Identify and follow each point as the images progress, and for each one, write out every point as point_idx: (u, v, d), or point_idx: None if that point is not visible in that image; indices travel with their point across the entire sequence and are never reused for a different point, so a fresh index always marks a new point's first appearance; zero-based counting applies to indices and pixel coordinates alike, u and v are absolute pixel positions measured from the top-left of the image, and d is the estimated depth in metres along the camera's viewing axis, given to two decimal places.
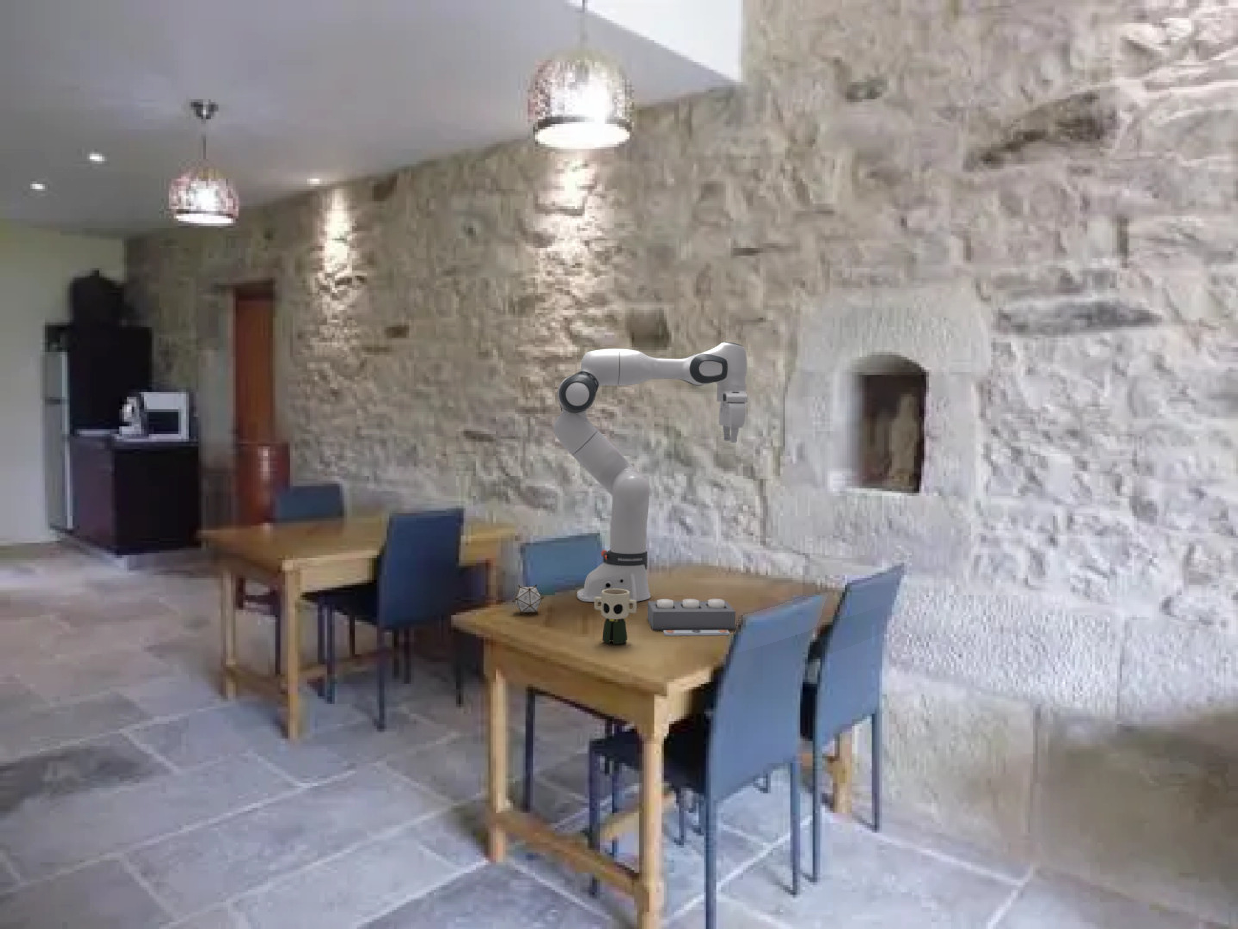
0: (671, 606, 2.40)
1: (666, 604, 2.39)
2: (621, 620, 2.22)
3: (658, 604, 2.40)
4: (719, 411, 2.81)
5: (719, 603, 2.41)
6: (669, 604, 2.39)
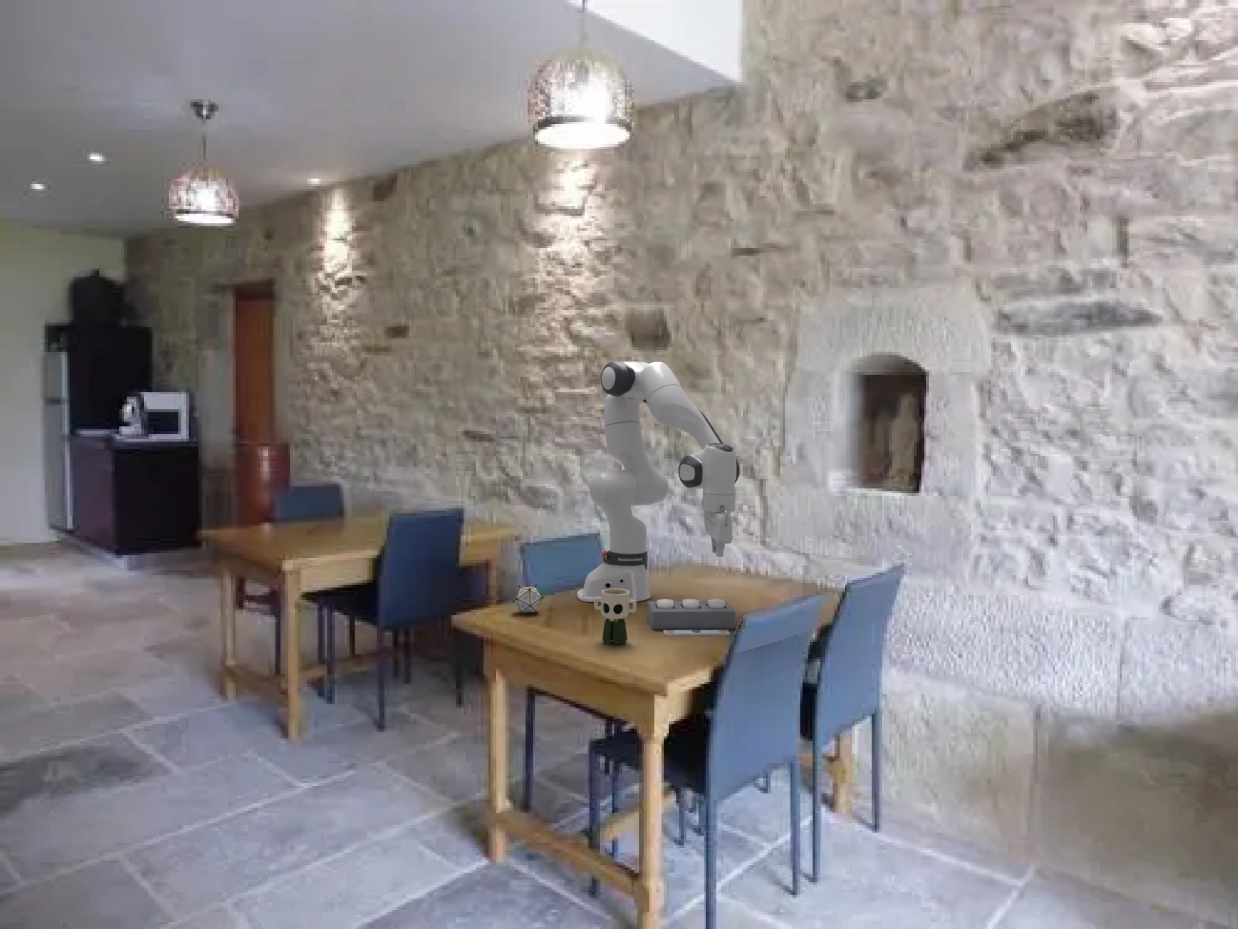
0: (671, 606, 2.40)
1: (666, 604, 2.39)
2: (621, 620, 2.22)
3: (658, 604, 2.40)
4: None
5: (719, 603, 2.41)
6: (669, 604, 2.39)
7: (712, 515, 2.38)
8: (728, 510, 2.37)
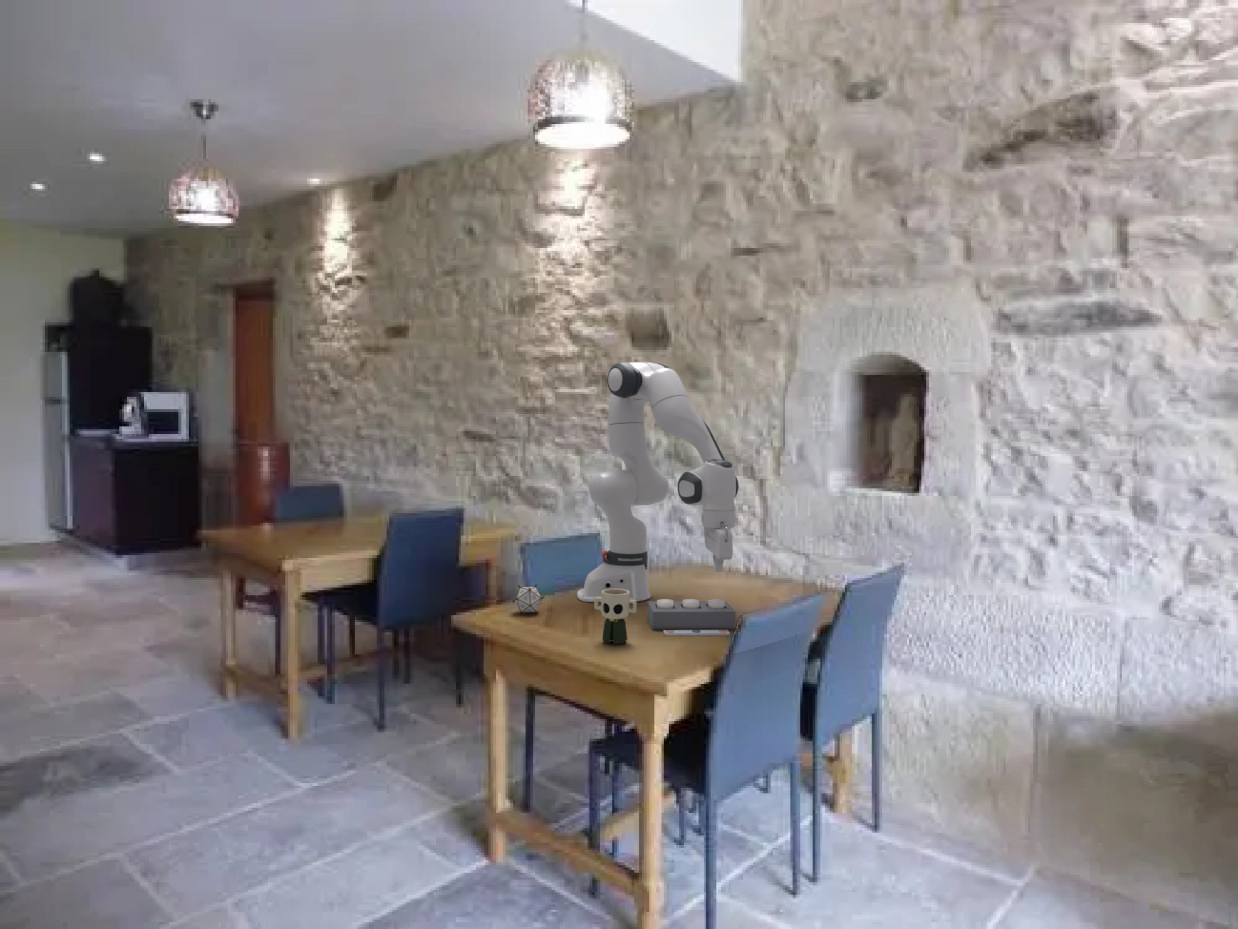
0: (671, 606, 2.40)
1: (666, 604, 2.39)
2: (621, 620, 2.22)
3: (658, 604, 2.40)
4: None
5: (719, 603, 2.41)
6: (669, 604, 2.39)
7: (712, 531, 2.38)
8: (728, 526, 2.37)
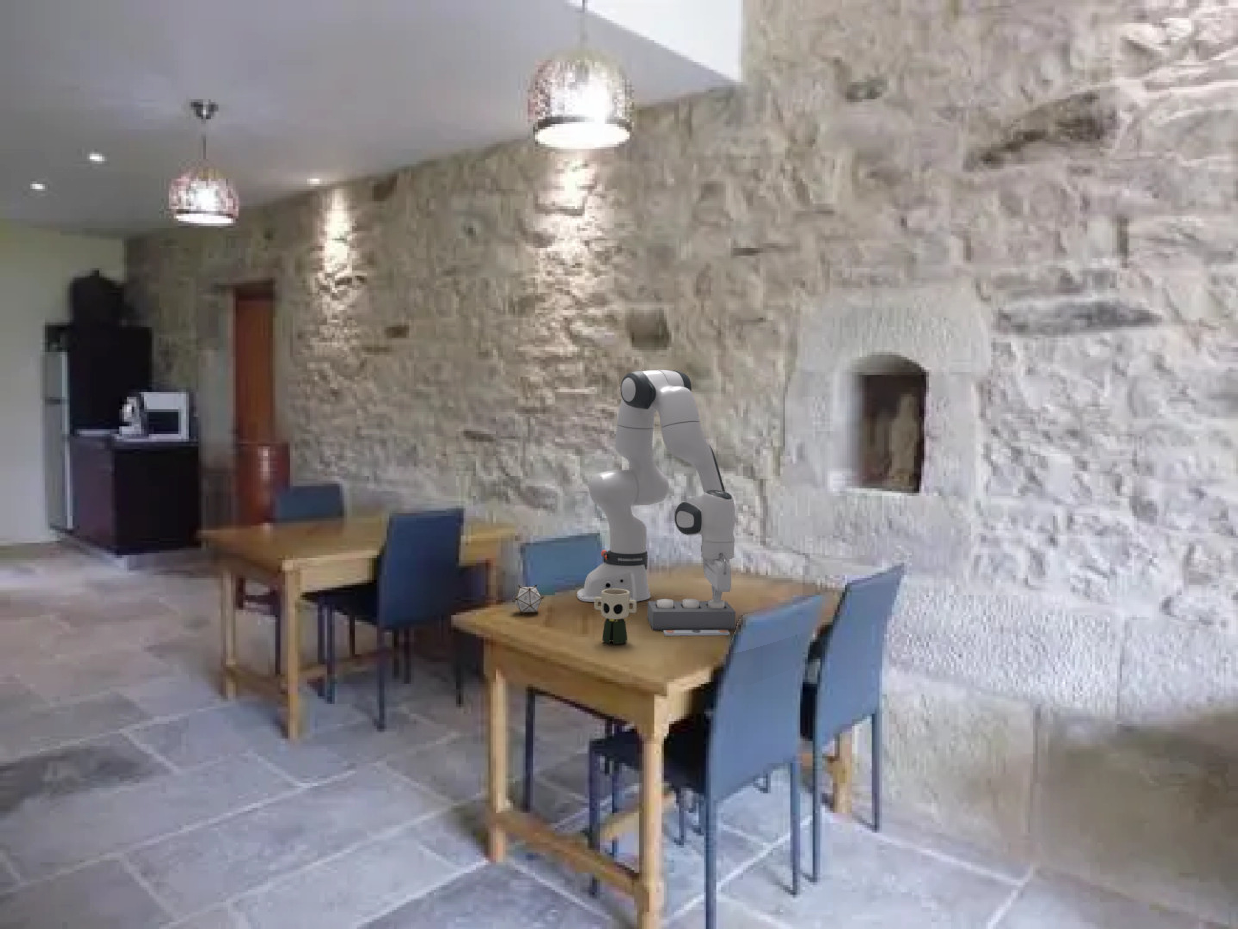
0: (671, 606, 2.40)
1: (666, 604, 2.39)
2: (621, 620, 2.22)
3: (658, 604, 2.40)
4: None
5: (719, 604, 2.41)
6: (669, 604, 2.39)
7: (711, 562, 2.39)
8: (727, 557, 2.38)
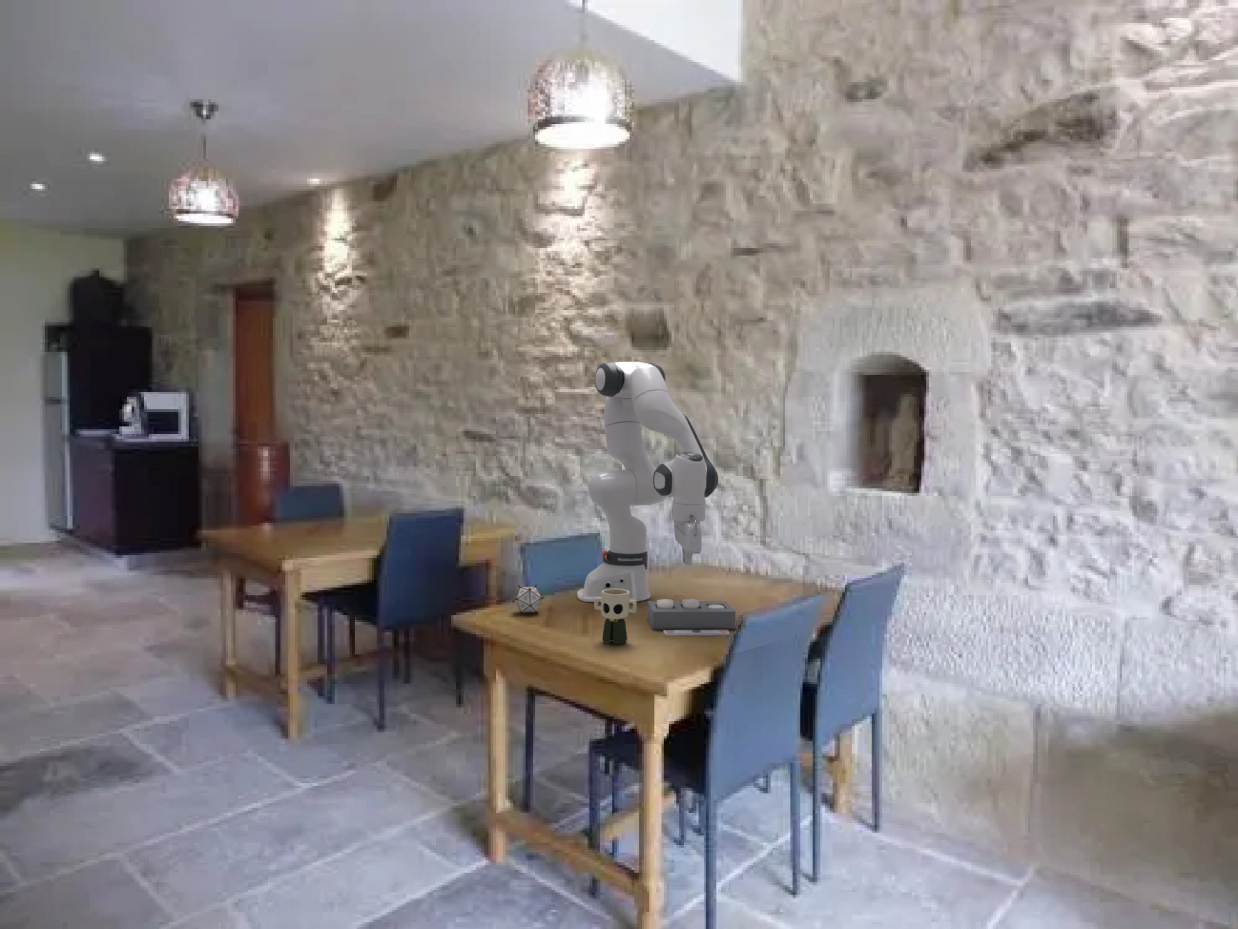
0: (671, 606, 2.40)
1: (666, 604, 2.39)
2: (621, 620, 2.22)
3: (658, 604, 2.40)
4: None
5: None
6: (669, 604, 2.39)
7: (682, 524, 2.38)
8: (698, 520, 2.37)
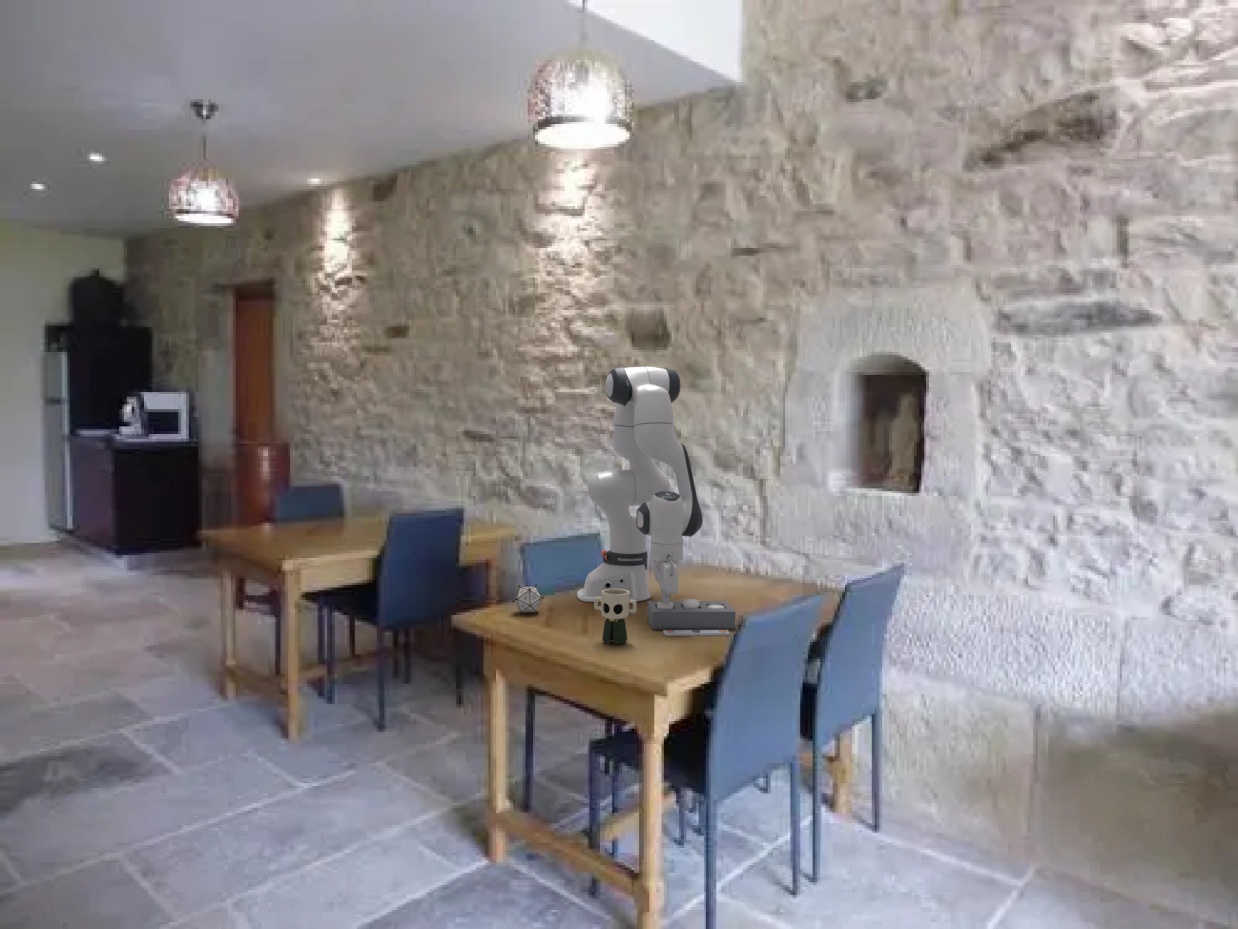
0: (671, 608, 2.40)
1: (666, 606, 2.39)
2: (621, 620, 2.22)
3: (658, 606, 2.40)
4: None
5: None
6: (668, 606, 2.39)
7: (659, 564, 2.38)
8: (675, 559, 2.36)
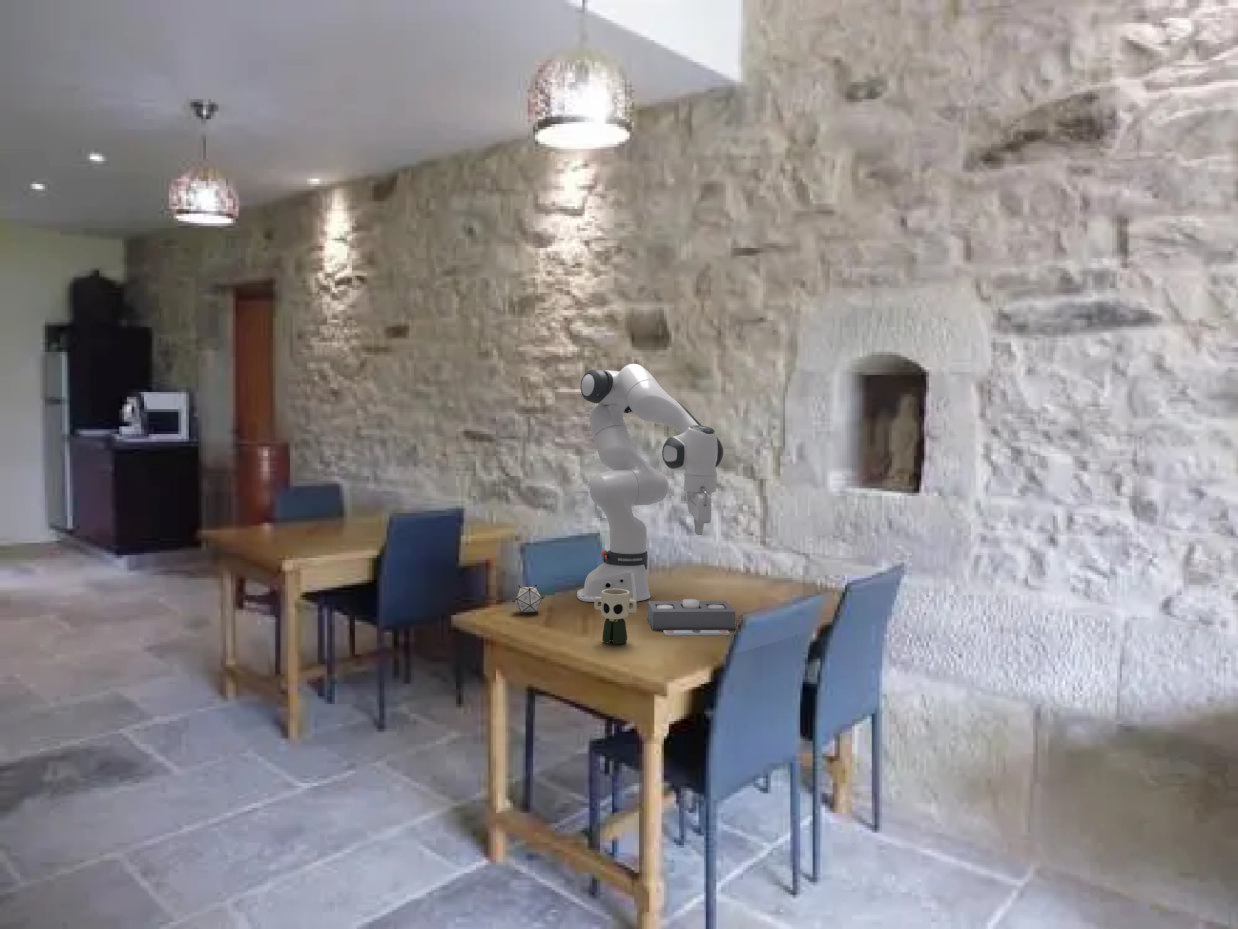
0: None
1: None
2: (621, 620, 2.22)
3: None
4: None
5: None
6: None
7: (693, 495, 2.45)
8: (708, 491, 2.43)
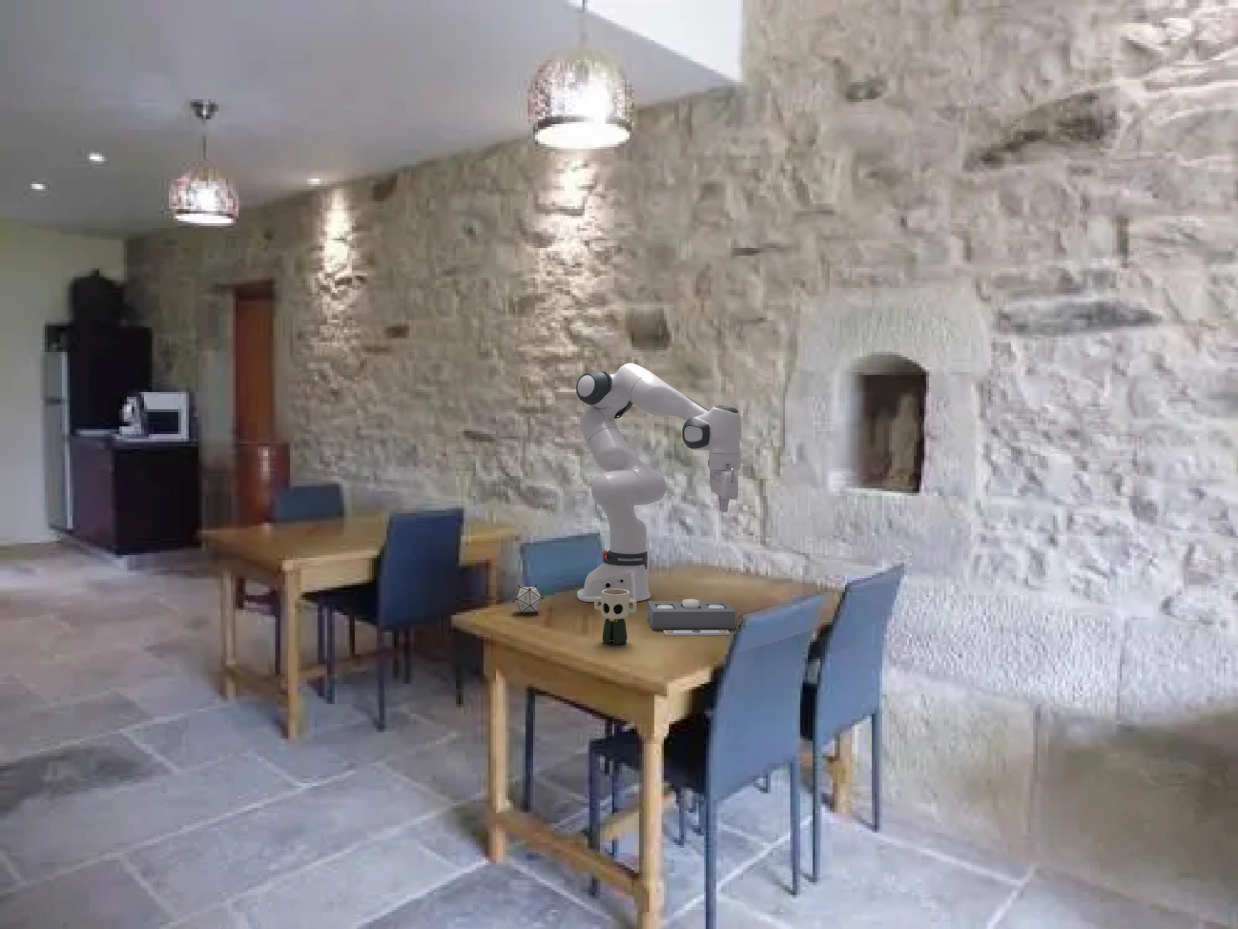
0: None
1: None
2: (621, 620, 2.22)
3: None
4: None
5: None
6: None
7: (718, 473, 2.51)
8: (734, 468, 2.49)
